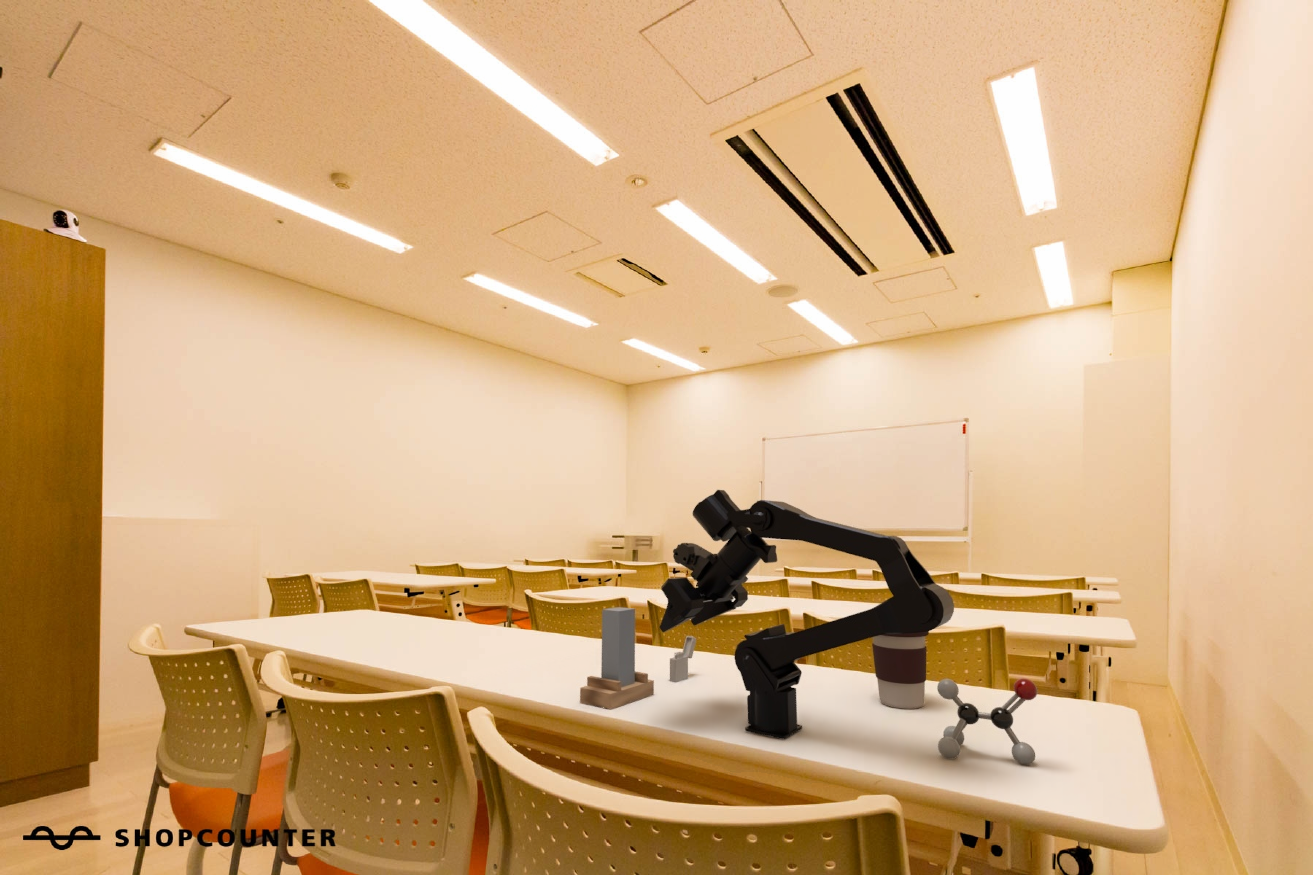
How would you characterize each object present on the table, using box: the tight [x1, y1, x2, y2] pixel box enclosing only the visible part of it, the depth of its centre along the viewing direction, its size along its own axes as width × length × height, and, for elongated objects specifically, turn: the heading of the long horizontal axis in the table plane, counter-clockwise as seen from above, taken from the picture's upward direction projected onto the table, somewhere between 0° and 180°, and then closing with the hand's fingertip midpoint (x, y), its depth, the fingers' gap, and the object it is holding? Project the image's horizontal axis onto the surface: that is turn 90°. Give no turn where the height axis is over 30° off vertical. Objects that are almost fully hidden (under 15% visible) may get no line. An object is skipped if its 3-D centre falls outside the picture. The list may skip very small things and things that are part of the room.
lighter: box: [669, 635, 697, 683], centre depth 129 cm, size 7×2×8 cm, turn 141°
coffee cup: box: [872, 631, 930, 710], centre depth 111 cm, size 10×10×15 cm
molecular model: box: [936, 677, 1038, 766], centre depth 85 cm, size 8×12×11 cm
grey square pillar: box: [600, 606, 636, 687], centre depth 114 cm, size 4×4×13 cm
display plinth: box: [579, 671, 655, 710], centre depth 113 cm, size 7×12×4 cm, turn 143°
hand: (677, 626), depth 107 cm, fingers open, 9 cm apart
